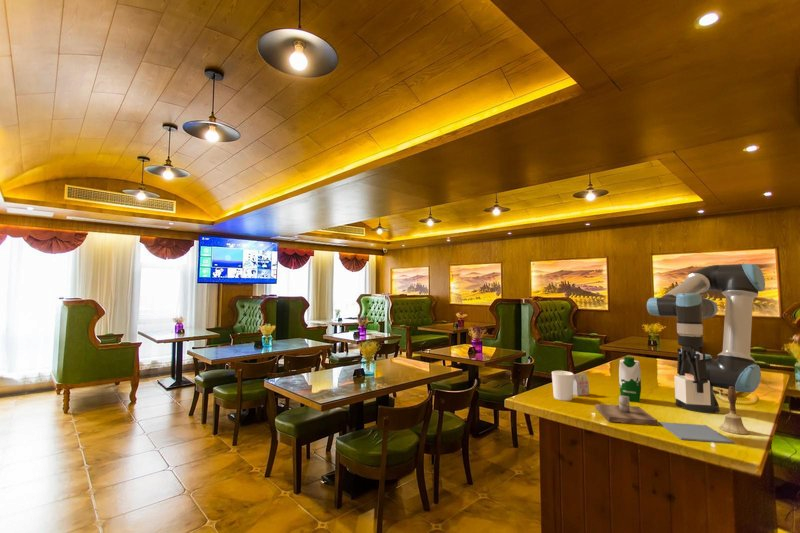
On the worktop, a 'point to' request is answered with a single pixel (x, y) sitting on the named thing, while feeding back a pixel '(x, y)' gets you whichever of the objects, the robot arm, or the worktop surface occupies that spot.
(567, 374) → the candle holder
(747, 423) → the worktop surface
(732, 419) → the hand bell
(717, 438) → the mat
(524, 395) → the worktop surface
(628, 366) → the milk carton
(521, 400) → the worktop surface
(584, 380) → the tea bag
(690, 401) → the white cubic block
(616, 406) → the post stand
